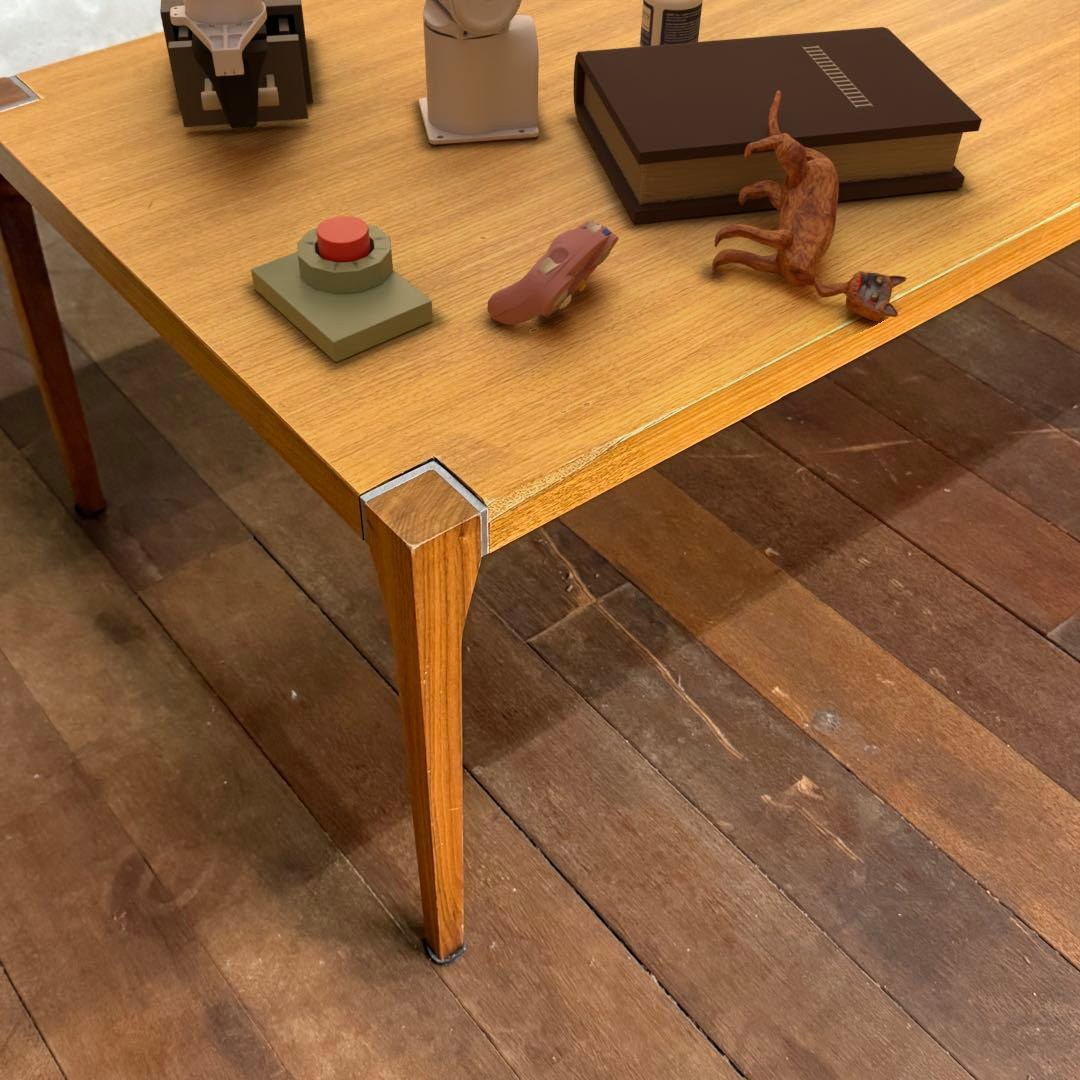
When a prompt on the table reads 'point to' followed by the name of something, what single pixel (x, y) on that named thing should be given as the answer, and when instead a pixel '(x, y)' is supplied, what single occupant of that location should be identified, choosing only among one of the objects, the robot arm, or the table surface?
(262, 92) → the drawer
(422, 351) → the table surface
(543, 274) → the pink pronged piece
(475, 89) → the robot arm
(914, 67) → the book
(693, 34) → the pill bottle
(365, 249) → the button
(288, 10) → the cabinet
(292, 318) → the olive button base
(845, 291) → the cat figurine
